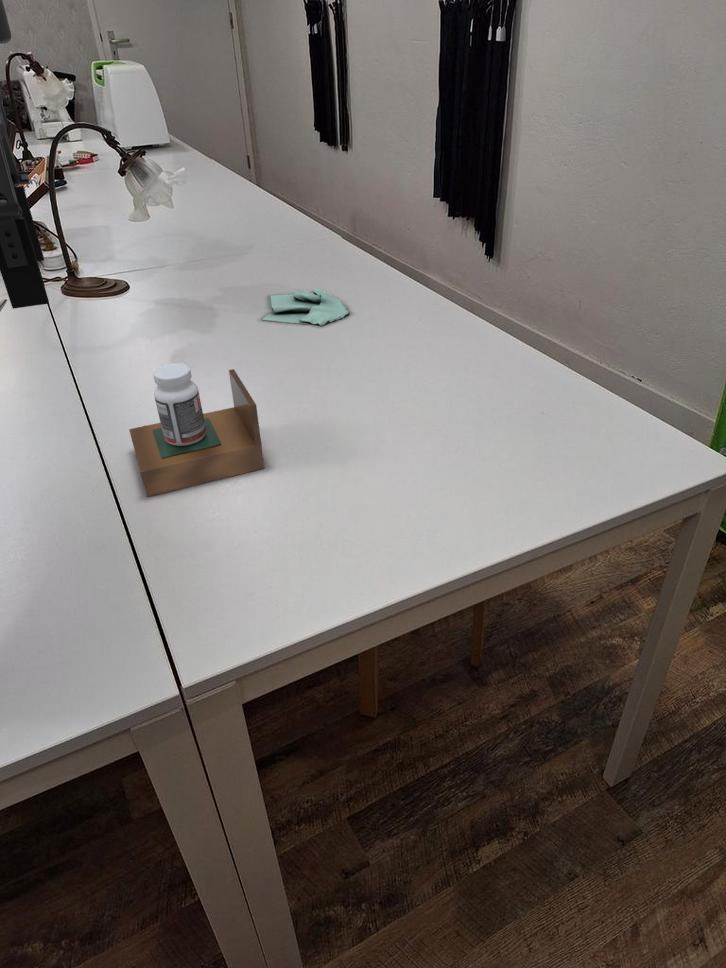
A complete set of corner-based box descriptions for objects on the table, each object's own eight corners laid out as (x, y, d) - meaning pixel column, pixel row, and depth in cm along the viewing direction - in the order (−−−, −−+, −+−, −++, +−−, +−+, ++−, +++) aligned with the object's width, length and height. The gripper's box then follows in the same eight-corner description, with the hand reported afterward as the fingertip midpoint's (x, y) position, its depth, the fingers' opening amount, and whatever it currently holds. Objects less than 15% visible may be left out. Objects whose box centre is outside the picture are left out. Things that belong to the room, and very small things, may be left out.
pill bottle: (209, 425, 92) (198, 360, 86) (203, 446, 87) (190, 379, 82) (169, 427, 92) (154, 362, 86) (160, 448, 87) (144, 381, 82)
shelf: (146, 497, 85) (129, 431, 80) (135, 452, 95) (118, 390, 89) (264, 468, 90) (256, 404, 85) (242, 429, 99) (233, 368, 94)
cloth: (328, 330, 131) (327, 319, 130) (237, 315, 139) (235, 304, 137) (370, 298, 146) (370, 288, 145) (286, 286, 154) (285, 276, 152)
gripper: (-10, -39, 37) (85, 320, 49) (0, -12, 56) (67, 242, 68) (-164, -42, 35) (-25, 336, 47) (-100, -13, 54) (-12, 251, 66)
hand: (30, 281), depth 58 cm, fingers open, 13 cm apart
